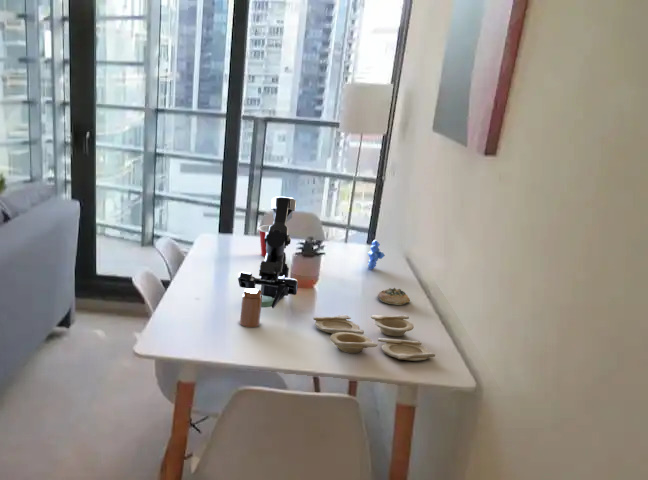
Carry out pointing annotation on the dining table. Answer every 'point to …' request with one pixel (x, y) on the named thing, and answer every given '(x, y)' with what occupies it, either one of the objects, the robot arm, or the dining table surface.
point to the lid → (267, 301)
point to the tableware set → (388, 325)
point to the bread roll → (393, 296)
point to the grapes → (374, 254)
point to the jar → (251, 308)
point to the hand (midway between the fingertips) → (261, 306)
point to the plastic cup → (263, 238)
